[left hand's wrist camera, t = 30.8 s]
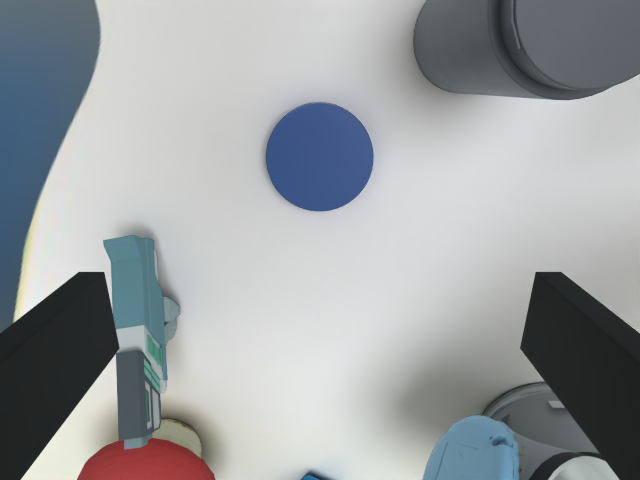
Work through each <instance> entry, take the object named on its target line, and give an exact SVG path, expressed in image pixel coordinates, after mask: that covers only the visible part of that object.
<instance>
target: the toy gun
mask: <svg viewBox="0 0 640 480" xmlns="http://www.w3.org/2000/svg"><path fill="white" fill-rule="evenodd" d="M103 243H104V247H105V249H106V252H107V254H108V256H109V258H110V260H111V271H112V303H113V318H114V323H115V327H116V332H117V337H118V342H119V347H120V349H119V350H118V351H117V353H116V366H117V397H118V428H119V441H120V440H124V450H125V449H133V448H140V447H143V446H145V445H147V444H148V440H149V439H151V438H152V433H153V432H154V431H156V430H158V429H160V425H161V404H160V394H163V393H165V391H166V387H167V364H166V348H165V346H166V345H167V342H168V341H169V340H170V339H172V338H173V336H174V335H175V330H176V317H177V316H178V315H180V307H179V306H178V305H177V304H176V303H175V302H174V301H172V300H171V299H170V298H167V297H165V296H164V297H162V291H161V288H160V286H159V283H158V270H157V252H156V250H154V240H151V239H149V238H143V239H142V238H140V237H137V236H135V235H131V236H126V237H120V238H114V239H108V240H103Z"/></svg>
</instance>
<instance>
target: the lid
mask: <svg viewBox="0 0 640 480" xmlns="http://www.w3.org/2000/svg"><path fill="white" fill-rule="evenodd" d="M266 164H267V170H268V173H269V176H270V179H271V181H272V183H273V185H274V186H275V188H276V189H277V190H278V192H279V193H280V194H281V195H282V196H283V197H284V198H285V199H286V200H288V201H289V202H291V203H292V204H294V205H296V206H298V207H300V208H303V209H307V210H311V211H328V210H333V209H337V208H339V207H341V206H344V205H345V204H347V203H349V202H350V201H352V200H353V199H354V198H355V197H356V196H357V195H359V193H360V192H361V191H362V190H363V188H364V187H365V185H366V184H367V182H368V180H369V177H370V174H371V171H372V166H373V148H372V143H371V140H370V137H369V135H368V133H367V131H366V129H365V128H364V126H363V125H362V123H361V122H360V121H359V120H358V119H357V118H356V117H355V116H354V115H353V114H351V113H350V112H349V111H347V110H346V109H344V108H342V107H340V106H337V105H334V104H330V103H323V102H316V103H309V104H305V105H302V106H300V107H298V108H295V109H294V110H292V111H291V112H289V113H288V114H287V115H286V116H284V117H283V118H282V119H281V121H280V122H279V123H278V124H277V125H276V127H275V128H274V130H273V132H272V134H271V136H270V138H269V141H268V145H267V150H266Z"/></svg>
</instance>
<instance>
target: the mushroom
mask: <svg viewBox="0 0 640 480" xmlns="http://www.w3.org/2000/svg"><path fill="white" fill-rule="evenodd" d="M201 452H202V447H201V443H200V440H199V437H198V436H197V434H196V433H195V431H194V430H193V429H192V428H191V427H190V426H188V425H187V424H185V423H183V422H181V421H178V420H173V419H163V420H161V425H160V429H158V430H156V431H154V432H153V433H152V438H151V439H149V440H148V444H147V445H145V446H143V447H140V448H133V449H125V450H124V440H120V441H117V442H114V443H111V444H109V445H106V446H105V447H103V448H102V449H101V450H99V451H98V452H97V453H96V454H94V455H93V456H92V457H91V458H89V459H88V461H87V462H86V463H85V465H84V467H83V469H82V471H81V473H80V475H79V476H78V479H77V480H215V477H214V474H213V473H212V471H211V470H210V469H209V467H208V466H207V464H206V463H205V462H204V460H203V459H201Z"/></svg>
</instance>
